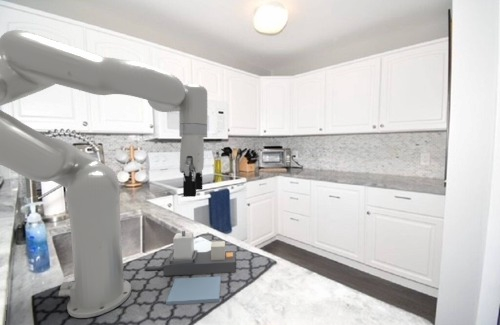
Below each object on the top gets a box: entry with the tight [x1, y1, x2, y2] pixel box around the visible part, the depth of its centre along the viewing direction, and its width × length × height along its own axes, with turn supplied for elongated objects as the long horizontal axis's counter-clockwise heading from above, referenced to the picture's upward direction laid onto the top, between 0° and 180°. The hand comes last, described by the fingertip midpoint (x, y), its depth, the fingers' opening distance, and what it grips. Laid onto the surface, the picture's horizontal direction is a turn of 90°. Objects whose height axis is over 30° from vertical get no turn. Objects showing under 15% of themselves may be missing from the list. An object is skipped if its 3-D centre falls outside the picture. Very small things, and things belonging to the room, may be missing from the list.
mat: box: [165, 275, 222, 306], centre depth 57 cm, size 12×9×1 cm
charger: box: [172, 230, 195, 260], centre depth 67 cm, size 5×4×8 cm
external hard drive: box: [194, 236, 213, 252], centre depth 81 cm, size 2×8×12 cm
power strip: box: [144, 240, 236, 277], centre depth 67 cm, size 26×7×7 cm, turn 95°
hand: (193, 192), depth 64 cm, fingers open, 9 cm apart
